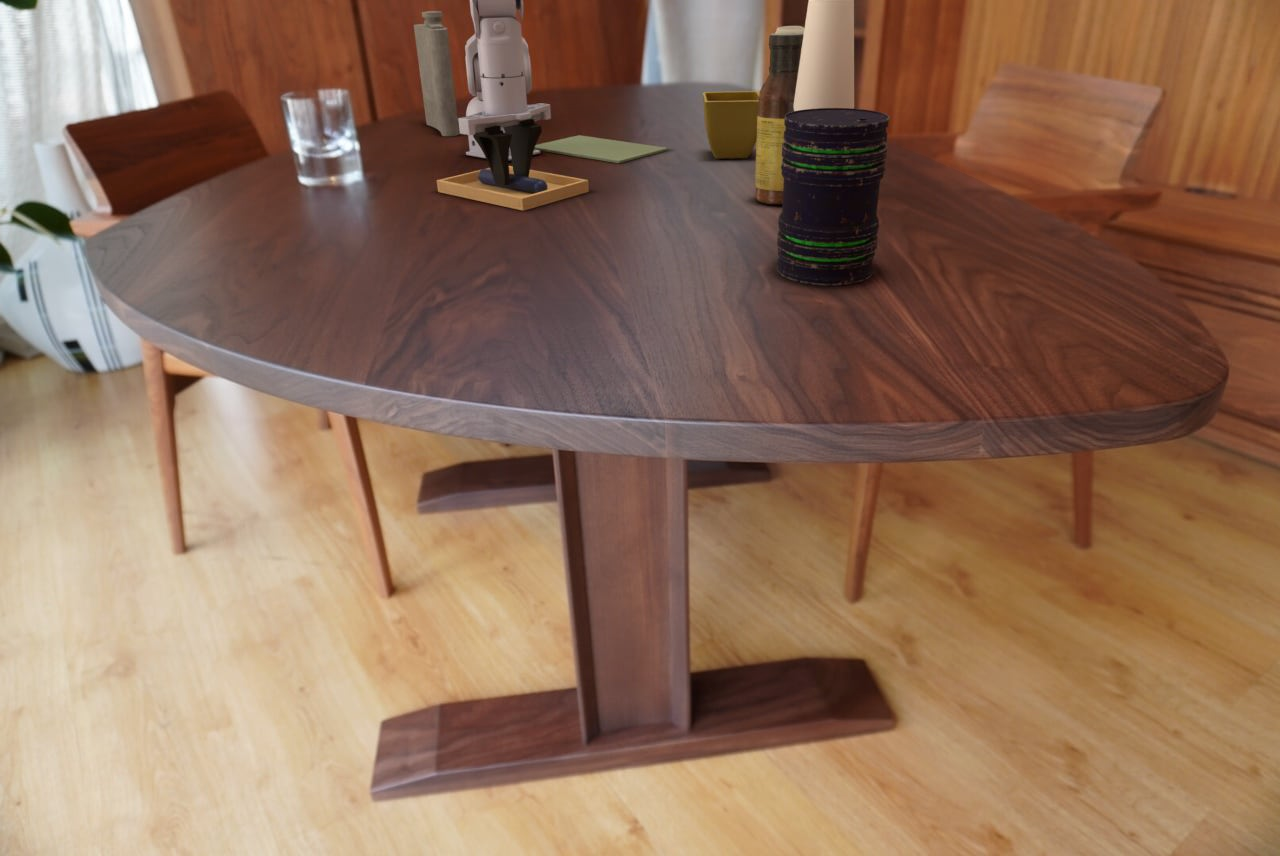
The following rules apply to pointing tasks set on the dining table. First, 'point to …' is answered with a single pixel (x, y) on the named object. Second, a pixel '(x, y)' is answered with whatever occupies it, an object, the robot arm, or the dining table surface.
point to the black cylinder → (831, 194)
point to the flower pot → (731, 122)
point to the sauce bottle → (775, 114)
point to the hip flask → (436, 74)
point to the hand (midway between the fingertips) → (511, 181)
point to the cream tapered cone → (827, 57)
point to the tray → (511, 198)
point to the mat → (599, 149)
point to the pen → (515, 182)
